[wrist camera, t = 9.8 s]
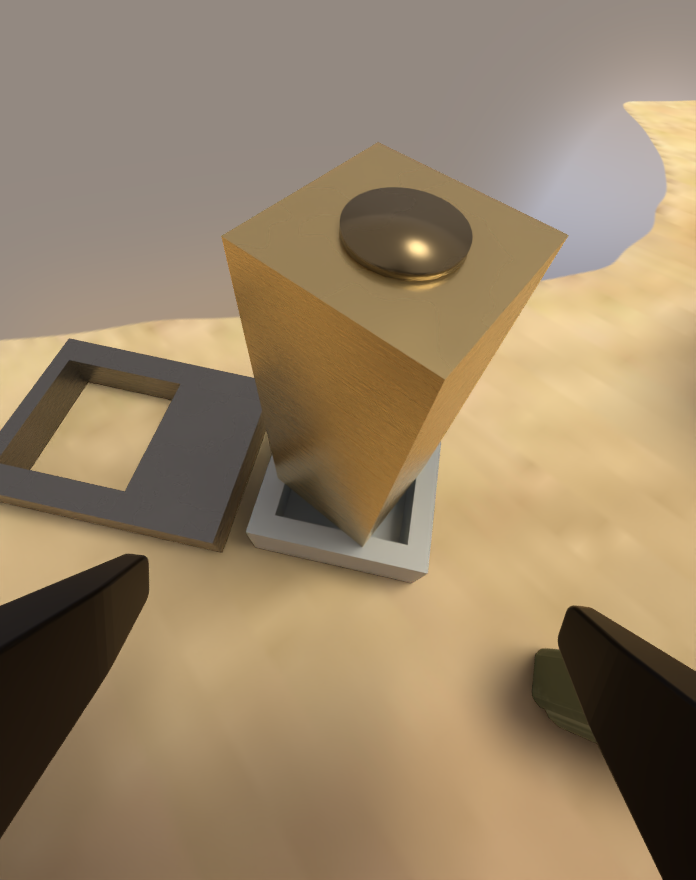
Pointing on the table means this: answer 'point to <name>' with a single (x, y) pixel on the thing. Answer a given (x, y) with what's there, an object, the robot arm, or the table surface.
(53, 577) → the table surface
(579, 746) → the table surface
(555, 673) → the handheld radio
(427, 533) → the parts tray
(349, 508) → the brass tower with button
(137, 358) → the grey holder tray
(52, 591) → the robot arm
